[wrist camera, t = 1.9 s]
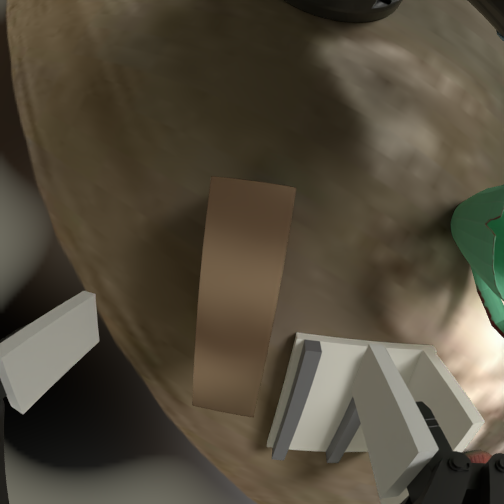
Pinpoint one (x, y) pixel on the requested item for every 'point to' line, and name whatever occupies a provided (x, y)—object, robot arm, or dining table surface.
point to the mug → (484, 247)
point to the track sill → (342, 402)
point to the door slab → (239, 290)
